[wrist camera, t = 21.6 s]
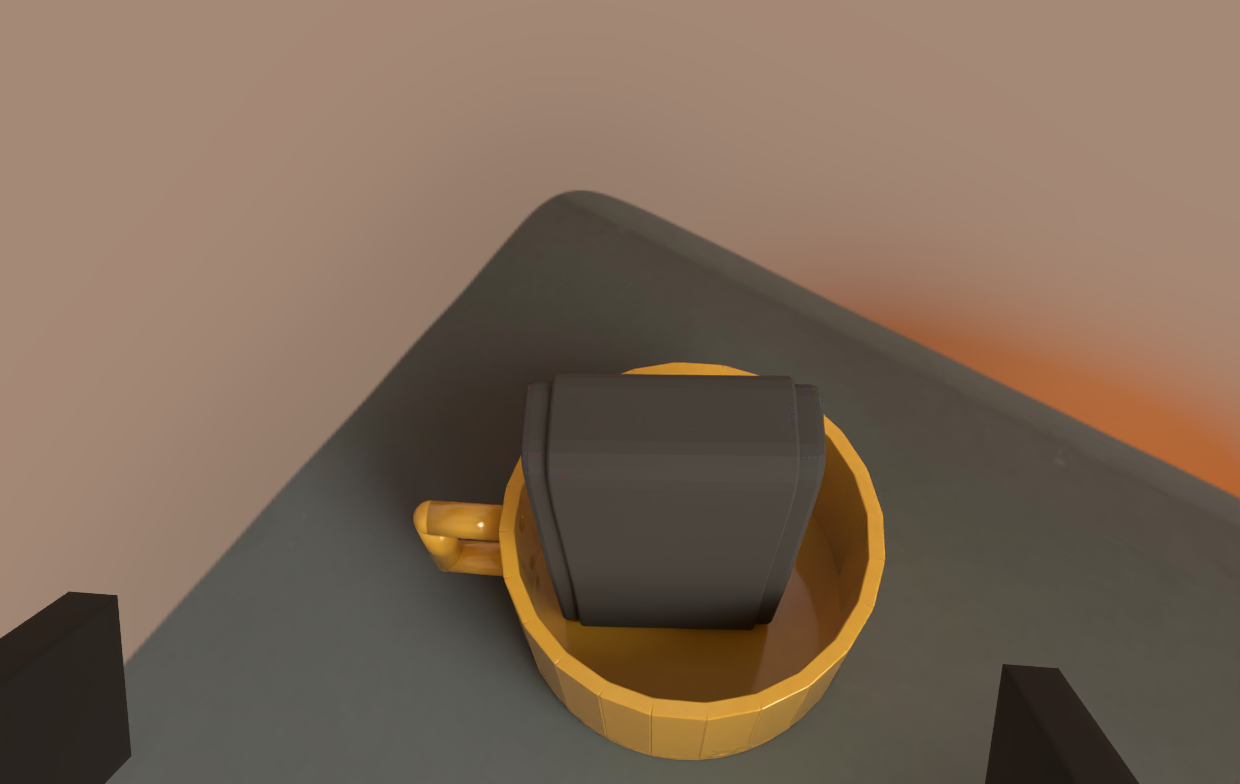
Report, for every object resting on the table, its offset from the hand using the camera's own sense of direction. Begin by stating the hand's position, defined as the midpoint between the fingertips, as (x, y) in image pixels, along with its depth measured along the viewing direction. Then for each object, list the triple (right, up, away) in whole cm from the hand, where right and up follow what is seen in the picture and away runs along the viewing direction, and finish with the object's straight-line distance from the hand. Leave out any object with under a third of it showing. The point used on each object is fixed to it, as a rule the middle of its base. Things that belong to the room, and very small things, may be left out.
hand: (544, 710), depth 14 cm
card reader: (+3, -4, +27) cm, 28 cm away
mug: (+2, -4, +28) cm, 28 cm away
